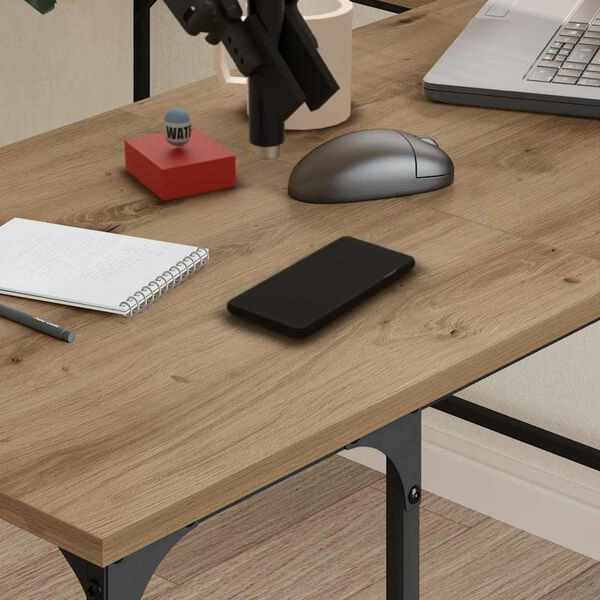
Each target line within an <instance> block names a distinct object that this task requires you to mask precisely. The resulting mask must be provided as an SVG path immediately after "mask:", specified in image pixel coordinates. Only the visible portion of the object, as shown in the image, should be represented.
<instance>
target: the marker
mask: <svg viewBox="0 0 600 600" xmlns="http://www.w3.org/2000/svg"><path fill="white" fill-rule="evenodd" d="M246 4H247V16H250V15H254V14H256V15H257V17H258V18H259V20H260V22H261V23H262V25H263V27H264V28H265V30H266V32H267V33H268V35H269V36H270V38H271V40H272V41H273V43H274V45H275V46H276V48H277V50H278V51H279V53H280V55H281V56H282V58H283V60H284V0H246ZM248 105H249V115H248V142H249V143H250V144H251V145H252V146H253V157H255V158H257V159H259V160H267V161H268V160H275V159H277V158H279V157H280V156H281V145H282V144H284V143H285V139H286V137H285V134H286V133H285V131H286V129H285V121H284V122H281V123H277V121H276V120H275V118H274V116H273V115H272V113H271V111H270V110H269V108H268V106H267V105H266V103H265V101H264V100H263V98H262V96H261V95H260V93H259V91H258V90H257V88H256V86H255V85H254V83H253V81H252V80H251V78H250V76H249V77H248Z"/></svg>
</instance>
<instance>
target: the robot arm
mask: <svg viewBox="0 0 600 600" xmlns="http://www.w3.org/2000/svg"><path fill="white" fill-rule="evenodd" d="M162 1H163V3H164V4H165V6H166V7H167V8H168V10H169V11H170V12H171V14H172V15H173V16H174V18H175V19H176V21H177V22H178V23H179V25H180V26H181V27H182V30H183V31H184V32H185V33H186V34H187V35H189V36H191V37H197V36H199V35H200V34H201V33H204V34H207V35H206V36H204V38H203V39H204V40H205V41H206V43H207V44H209V45H212V46H214V45H217V44H219V43H220V41H222V43H223V45H224V46H225V51H227V53H228V54H229V57H230V58H231V60H232V62H233V63H234V65H235V67H236V68H237V70H238V72H239V73H240V74H242V76H243V77H244V78H247V77H249V76H250V78H251V80H252V81H253V83H254V85H255V86H256V88H257V90H258V91H259V93H260V95H261V96H262V98H263V100H264V101H265V103H266V105H267V106H268V108H269V110H270V111H271V113H272V115H273V116H274V118H275V120H276V121H277V123H281V122H284V121H286V120H287V119H288V118H289V117H290V116H291V115H292V114H293V113H294V112H295V111H296V110H297V109H298V108H299V107H300V106H301V105H302V104H303V103H304V102H305V103H306V105H307V107H308V108H309V110H310V112H312V111H315V110H318V109H319V108H320V107H321V106H323V105H324V104H325V103H326V102H327V101H328V100H329V99H330V98H331V97H332V96H333V95H334V94H335V93H336V92H337V91H338V90H339V89H340V87H339V85H338V84H337V82H336V80H335V79H334V77H333V75H332V74H331V72H330V70H329V69H328V67H327V65H326V64H325V62H324V61H323V59H322V57H321V56H320V54H319V52H318V51H317V48H318V43H317V40H316V38H315V36H314V35H313V33H312V31H311V30H310V28H309V26H308V25H307V23H306V21H305V20H304V18H303V16H302V15H301V13H300V12H299V10H298V7H297V2H298V1H299V0H284V60H283V58H282V56H281V55H280V53H279V51H278V50H277V48H276V46H275V45H274V43H273V41H272V40H271V38H270V36H269V35H268V33H267V32H266V30H265V28H264V27H263V25H262V23H261V22H260V20H259V18H258V17H257V15H256V14H254V15H250V16H247V17H246V18H245V20H244V21H243V20H242V19H241V17H242V16H244V11H243V8H242V7H241V4H240V2H239V0H162ZM193 8H194V9H193Z"/></svg>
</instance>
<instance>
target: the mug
mask: <svg viewBox="0 0 600 600" xmlns="http://www.w3.org/2000/svg"><path fill="white" fill-rule="evenodd" d="M297 7H298V10H299V12H300V13H301V15H302V16H303V18H304V20H305V21H306V23H307V25H308V26H309V28H310V30H311V31H312V33H313V35H314V36H315V38H316V40H317V43H318V48H317V51H318V52H319V54H320V56H321V57H322V59H323V61H324V62H325V64H326V65H327V67H328V69H329V70H330V72H331V74H332V75H333V77H334V79H335V80H336V82H337V84H338V85H339V87H340V89H339V90H338V91H337V92H336V93H335V94H334V95H333V96H332V97H331V98H330V99H329V100H328V101H327V102H326V103H325V104H324V105H323V106H321V107H320V108H319V109H318V110H315V111H312V112H310V110H309V108H308V107H307V105H306V103H305V102H304V103H303V104H302V105H301V106H300V107H299V108H298V109H297V110H296V111H295V112H294V113H293V114H292V115H291V116H290V117H289V118H288V119H287V120H286V121H285V130H297V131H299V130H302V131H303V130H304V131H307V130H317V129H324V128H328V127H333V126H336V125H339V124H341V123H343V122H345V121H347V119H349V118H350V117H351V101H352V61H353V60H352V59H353V57H352V55H353V54H352V53H353V13H354V10H353V9H354V8H353V7H354V3H353V2H352V1H350V0H299V1H298V2H297ZM246 17H247V3H246V4H245V15H243V16H242V17H241V19H242V20H243V21H244V20H245V18H246ZM212 67H213V70H214V71H215V75H216V79H217V81H218V84H219V88H220V89H221V90H232V91H246V114H247V115H248V116H249V105H248V77H245V76H243V77H241V76H232V75H231V74H230V71H229V67H228V64H227V62H226V48H225V46H224V45H223V43H222V41H220V43H219V44H217V45H213V66H212Z"/></svg>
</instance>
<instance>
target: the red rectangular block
mask: <svg viewBox="0 0 600 600" xmlns="http://www.w3.org/2000/svg"><path fill="white" fill-rule="evenodd" d="M123 142H124V162H125V163H124V164H125V171H126V172H128V173H129V174H130V175H131V176H133V177H134V178H135V179H136V180H137V181H139V182H140V183H141V184H143V186H145V187H146V188H147V189H148V190H150V191H151V192H152V193H154V194H155V195H156V196H157V197H158V198H160V199H161V200H162V201H164V202H165V201H169V200H174V199H180V198H184V197H189V196H194V195H199V194H203V193H210V192H213V191H219V190H224V189H228V188H233V187H236V186H237V178H236V177H237V176H236V173H237V172H236V171H237V169H236V168H237V167H236V154H235V153H233V152H231V151H230V150H228V149H227V148H226V147H224V146H223V145H221V144H220V143H218V142H217V141H216V140H214V139H212V138H211V137H209V136H208V135H206V134H205V133H203V131H201V130H199V129H198V128H197V127H194V126H193V127H192V120H191V117H190V115H189V113H188V112H187V111H186V110H185V109H184V108H182V107H173V108H171V109H169V110H168V111H167V112H166V114H165V115H164V117H163V122H162V132H161V133H155V134H150V135H144V136H138V137H133V138H128V139H127V138H126V139H124V140H123Z"/></svg>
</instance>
